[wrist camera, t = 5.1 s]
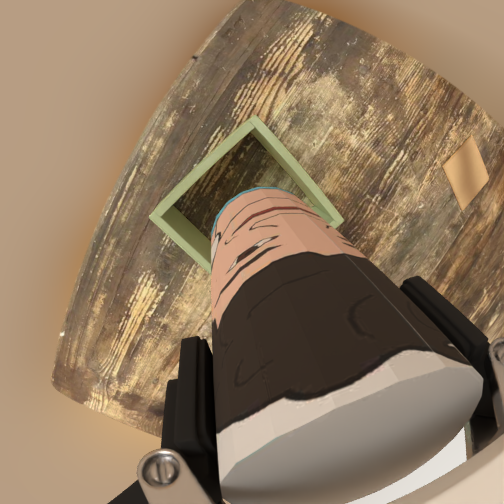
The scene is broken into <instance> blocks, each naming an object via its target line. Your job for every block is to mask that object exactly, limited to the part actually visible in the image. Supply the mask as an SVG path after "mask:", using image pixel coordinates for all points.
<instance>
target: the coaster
mask: <svg viewBox="0 0 504 504" xmlns="http://www.w3.org/2000/svg"><path fill="white" fill-rule="evenodd" d="M442 168H443V170H444V172H445V174H446V176H447V178H448V181H449V183H450V185H451V187H452V190H453V192H454V194H455V197H456V199H457V201H458V204H459V206H460V209H461V210H462V211H463V210H464V209H465V208H466V206H467V205H468V204H469V203H470V202H471V201H472V199H473V198H474V197H475V196H476V195H477V194H478V192H479V191H480V190H481V189H482V187H483V186H484V185H485V184H486V183H487V181H488V180H489V177H488V174H487V171H486V168H485V166H484V163H483V160H482V158H481V155H480V153H479V150H478V148H477V145H476V143H475V140H474V138H473V136H472V135H470V136H469V138H468V139H467V140H466V141H465V142H464V143H463V144H462V145H461V146H460V147H459V149H458V150H457V151H456V152H455V153H454V154H453V155H452V156H451V157H450V158H449V159H448V160H447V161H446V162H445V163H444V165H443V166H442Z"/></svg>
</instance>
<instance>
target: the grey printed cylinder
mask: <svg viewBox="0 0 504 504" xmlns="http://www.w3.org/2000/svg"><path fill="white" fill-rule="evenodd" d="M211 306H212V351H213V379H214V401H215V420H216V437H217V451H218V465H219V478H220V487H221V493H222V498H223V499H225V500H226V501H228V502H229V503H231V504H345V503H348V502H351V501H354V500H357V499H359V498H362V497H365V496H367V495H370V494H372V493H375V492H377V491H379V490H381V489H383V488H385V487H387V486H389V485H391V484H392V483H395V482H396V481H398V480H400V479H402V478H404V477H405V476H407V475H408V474H410V473H412V472H413V471H414V470H416V469H417V468H419V467H420V466H422V465H423V464H425V463H426V462H427V461H429V460H430V459H431V458H433V457H434V456H435V455H436V454H437V453H438V452H440V451H441V450H442V449H443V448H444V447H445V446H446V445H447V444H448V443H449V442H450V441H451V440H452V439H454V437H455V436H456V435H457V434H458V433H459V431H460V430H461V429H462V428H463V427H464V425H465V424H466V423H467V421H468V420H469V419H470V418H471V416H472V414H473V412H474V410H475V408H476V407H477V405H478V403H479V400H480V398H481V396H482V388H483V378H482V376H481V375H480V374H479V373H478V372H477V371H476V369H475V368H474V367H473V366H472V365H471V364H470V363H469V361H468V360H467V359H466V358H465V357H464V356H463V355H462V354H461V352H460V351H459V350H458V349H457V348H456V347H455V346H454V345H453V344H452V342H451V341H450V340H449V339H448V338H447V337H446V336H445V335H444V334H443V333H442V332H441V331H440V330H439V329H438V327H437V326H436V325H435V324H434V323H433V322H432V321H431V320H430V319H429V318H428V317H427V316H426V315H425V314H424V313H423V312H422V311H421V310H420V309H419V308H418V307H417V306H416V305H415V304H414V303H413V302H412V301H411V300H410V299H409V298H408V297H407V296H406V295H405V294H404V293H403V292H402V291H401V290H400V289H399V288H398V287H397V286H396V285H395V284H394V283H393V282H392V281H391V280H390V279H389V278H388V277H387V276H386V275H385V274H384V273H383V272H381V271H380V270H379V269H378V268H377V267H376V266H375V265H374V264H373V263H372V262H371V261H370V260H369V259H368V258H366V257H365V256H364V255H363V254H362V253H361V252H360V251H359V250H358V249H357V248H356V247H354V246H353V245H352V244H351V243H350V242H349V241H348V240H347V239H346V238H344V237H343V236H342V235H341V234H340V233H339V232H338V231H337V230H335V229H334V228H333V227H332V226H331V225H330V224H329V223H327V222H326V221H325V220H324V219H323V218H322V217H320V216H319V215H318V214H317V213H316V212H315V211H313V210H312V209H311V208H310V207H309V206H307V205H306V204H305V203H304V202H303V201H301V200H300V199H299V198H298V197H296V196H295V195H294V194H293V193H291V192H288V191H285V190H283V189H280V188H277V187H256V188H253V189H250V190H246V191H243V192H241V193H239V194H238V195H236V196H235V197H234V198H232V199H231V200H229V201H228V202H227V203H226V204H225V205H224V207H223V208H222V209H221V211H220V212H219V213H218V215H217V216H216V219H215V222H214V225H213V228H212V231H211Z"/></svg>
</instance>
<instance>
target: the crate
mask: <svg viewBox="0 0 504 504" xmlns="http://www.w3.org/2000/svg"><path fill="white" fill-rule="evenodd" d="M249 132H251V134H252V135H253V136H254V137H255V138H256V139H257V140H258V141H259V142H260V143H261V144H262V145H263V147H264V148H265V149H266V150H267V151H268V152H269V153H270V154H271V155H272V157H273V158H274V159H275V160H276V161H277V162H278V163H279V164H280V166H281V167H282V168H283V169H284V170H285V171H286V172H287V174H288V175H289V176H290V177H291V178H292V179H293V181H294V182H295V183H296V184H297V185H298V186H299V188H300V189H301V190H302V191H303V192H304V194H305V195H306V196H307V197H308V198H309V200H310V201H311V202H312V203H313V204H314V206H313V207H312V208H311V209H312V210H313V211H315V212H316V213H317V214H318V215H319V216H320V217H322V218H323V219H324V220H325V221H326V222H327V223H329V224H330V225H331V226H332V227H333V228H334V229H336V228H337V227H338V225H340V224H341V223H342V222H343V221H344V219H343V218H342V216H341V215H340V214H339V212H338V211H337V210H336V208H335V207H334V206H333V205H332V203H331V202H330V201H329V199H328V198H327V197H326V196H325V194H324V193H323V192H322V191H321V189H320V188H319V187H318V186H317V184H316V183H315V182H314V181H313V179H312V178H311V177H310V176H309V175H308V173H307V172H306V171H305V170H304V168H303V167H302V166H301V165H300V164H299V163H298V161H297V160H296V159H295V158H294V157H293V155H292V154H291V153H290V152H289V151H288V150H287V148H286V147H285V146H284V145H283V144H282V143H281V142H280V141H279V139H278V138H277V137H276V136H275V135H274V134H273V133H272V132H271V130H270V129H269V128H268V127H267V126H266V125H265V124H264V123H263V122H262V121H261V119H260V118H259V117H258V116H257V115H254V116H252V117H251V118H249V119H247V120H246V121H245V122H244V123H243V124H241V125H240V126H239V127H238V128H237V129H236V130H235V131H233V132H232V133H231V134H230V135H229V136H228V137H227V138H226V139H224V140H223V141H222V142H221V143H220V144H219V145H218V146H217V147H216V148H215V149H214V150H212V151H211V152H210V153H209V154H208V155H207V156H206V157H205V158H204V159H203V160H202V161H201V162H200V163H199V164H198V165H197V166H196V167H195V168H194V169H193V170H192V171H190V172H189V173H188V174H187V175H186V176H185V177H184V178H183V179H182V180H181V181H180V182H179V183H178V184H177V185H176V186H175V187H174V188H173V189H172V190H171V191H170V193H169V194H168V195H167V196H166V197H165V198H164V199H163V200H162V201H161V202H160V203H159V204H158V206H157V207H156V208H155V209H154V211H153V212H152V213H151V214H150V216H149V218H150V219H151V220H152V221H153V222H154V223H155V224H156V225H157V226H158V227H159V228H160V229H161V230H163V231H164V232H165V233H166V234H167V235H168V236H169V237H170V238H171V239H172V240H173V241H174V242H175V243H176V244H178V245H179V246H180V247H181V248H182V249H183V250H184V251H185V252H186V253H187V254H188V255H189V256H191V257H192V258H193V259H194V260H195V261H196V262H197V263H198V264H199V265H200V266H202V267H203V268H204V269H205V270H206V271H207V272H208V273H209V274H210V275H211V241H210V240H209V239H208V238H207V237H206V236H205V235H203V234H202V233H201V232H200V231H199V230H198V229H197V228H196V227H195V226H194V225H193V224H192V223H191V222H190V221H189V220H188V219H187V218H186V217H185V216H184V215H183V214H182V213H181V212H180V211H179V210H178V209H176V208H175V207H174V206H173V204H174V203H175V202H176V201H177V200H178V199H179V198H180V197H181V196H182V195H183V194H184V193H185V192H186V191H187V190H188V189H189V188H190V187H191V186H192V185H193V184H194V183H195V182H196V181H197V180H198V179H199V178H200V177H201V176H202V175H203V174H204V173H205V172H206V171H207V170H209V169H210V168H211V167H212V166H213V165H214V164H215V163H216V162H217V161H218V160H219V159H220V158H221V157H222V156H224V155H225V154H226V153H227V152H228V151H229V150H230V149H231V148H232V147H233V146H235V145H236V144H237V143H238V142H239V141H240V140H241V139H242V138H244V137H245V136H246V135H247V134H248V133H249Z"/></svg>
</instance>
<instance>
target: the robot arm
mask: <svg viewBox="0 0 504 504" xmlns="http://www.w3.org/2000/svg"><path fill="white" fill-rule="evenodd" d="M400 290H401V291H402V292H403V293H404V294H405V295H406V296H407V297H408V298H409V299H410V300H411V301H412V302H413V303H414V304H415V305H416V306H417V307H418V308H419V309H420V310H421V311H422V312H423V313H424V314H425V315H426V316H427V317H428V318H429V319H430V320H431V321H432V322H433V323H434V324H435V325H436V326H437V327H438V329H439V330H440V331H441V332H442V333H443V334H444V335H445V336H446V337H447V338H448V339H449V340H450V341H451V342H452V344H453V345H454V346H455V347H456V348H457V349H458V350H459V351H460V352H461V354H462V355H463V356H464V357H465V358H466V359H467V360H468V361H469V363H470V364H471V365H472V366H473V367H474V368H475V369H476V371H477V372H478V373H479V374H480V375H481V376H482V378H483V388H482V396H481V398H480V400H479V403H478V405H477V407H476V408H475V410H474V412H473V414H472V416H471V418H470V419H469V420H468V421H467V423H466V424H465V425H464V430H465V440H466V455H467V461H466V462H464V463H462V464H461V465H459V466H458V467H456V468H455V469H453V470H451V471H450V472H448V473H447V474H445V475H443V476H441V477H439V478H438V479H436V480H434V481H432V482H431V483H429V484H427V485H425V486H423V487H421V488H419V489H417V490H415V491H413V492H412V493H409V494H408V495H405V496H403V497H401V498H399V499H396V500H394V501H392V502H390V503H387V504H504V337H501V338H497V339H496V340H494V341H493V342H492V343H491V344H490V343H489V342H488V338H487V337H486V336H485V335H484V334H483V333H482V332H481V331H480V330H479V329H478V328H477V327H476V326H475V325H474V324H473V323H472V322H471V321H470V320H469V319H467V318H466V317H465V316H464V315H463V314H462V313H461V312H460V311H459V310H458V309H457V308H455V307H454V306H453V305H452V304H451V303H450V302H449V301H448V300H447V299H445V298H444V297H443V296H442V295H441V294H440V293H439V292H437V291H436V290H435V289H434V288H433V287H432V286H431V285H429V284H428V283H427V282H426V281H425V280H424V279H422V278H421V277H420V276H415V277H412V278H409V279H406V280H404V281H403V285H401V286H400ZM137 477H138V480H137V481H136V482H134V483H133V484H132V485H131V486H130V487H128V488H127V489H126V490H124V491H123V492H122V493H121V494H120V495H118V496H117V497H116V498H114V499H113V500H112V501H110V502H109V503H108V504H225V502H224V501H223V498H222V493H221V487H220V478H219V465H218V451H217V437H216V420H215V401H214V379H213V355H212V353H211V350H210V348H209V345H208V343H207V340H206V339H202V340H201V339H200V337H199V336H195V337H190V338H185V339H182V341H181V350H180V360H179V371H178V379H173V380H169V381H168V383H167V389H166V398H165V408H164V418H163V429H162V441H161V449H156V450H153V451H151V452H149V453H148V454H146V455H145V456H144V457H143V458H142V459H141V460H140V462H139V464H138V466H137Z"/></svg>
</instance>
